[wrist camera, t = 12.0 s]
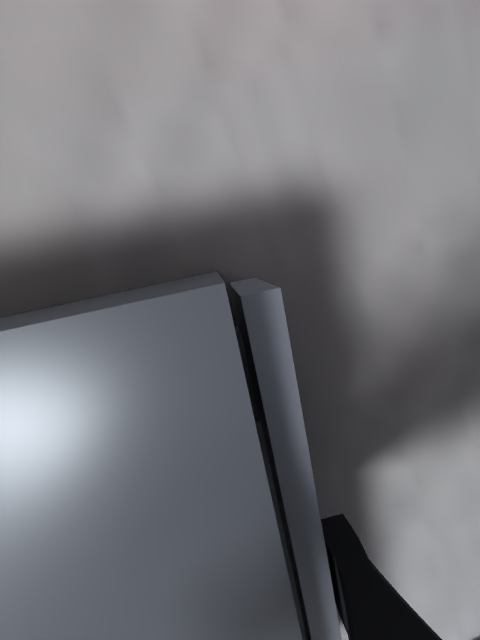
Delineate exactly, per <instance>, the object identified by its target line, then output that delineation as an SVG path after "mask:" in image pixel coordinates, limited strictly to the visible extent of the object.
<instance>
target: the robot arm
mask: <svg viewBox="0 0 480 640" xmlns="http://www.w3.org/2000/svg"><path fill="white" fill-rule="evenodd" d="M321 523H322V529H323V535H324V541H325V546H326V552H327V558H328V564H329V569H330V575H331V581H332V587H333V593H334V598H335V603H336V606H337V609H338V612H339V615H340V617H341V619H342V622H343V624H344V627H345V629H346V631H347V634H348V637H349V640H442V639H441V638H440V637H439V636H438V635H437V634H436V633H435V632H434V631H433V630H432V629H431V628H430V627H429V626H428V625H427V624H426V623H425V621H424V620H423V619H422V618H421V617H420V616H419V615H418V614H417V613H416V612H415V611H414V610H413V609H412V608H411V607H410V605H409V604H408V603H407V602H406V601H405V600H404V599H403V598H402V597H401V596H400V595H399V593H398V592H397V591H396V590H395V589H394V588H393V587H392V585H391V584H390V583H389V582H388V581H387V580H386V579H385V577H384V576H383V575H382V574H381V573H380V572H379V571H378V569H377V568H376V567H375V566H374V565H373V563H372V562H371V561H370V560H369V559H368V557H367V555H366V553H365V551H364V548H363V546H362V544H361V542H360V540H359V538H358V537H357V535H356V533H355V532H354V530H353V528H352V527H351V525H350V524H349V522H348V521H347V519H346V518H345V516H344V515H343V514H340V515H336V516H332V517H329V518H325V519H321Z"/></svg>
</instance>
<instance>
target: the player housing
mask: <svg viewBox="0 0 480 640" xmlns="http://www.w3.org/2000/svg"><path fill="white" fill-rule="evenodd" d="M0 640H302V635H301V631H300V626H299V621H298V617H297V612H296V608H295V603H294V598H293V594H292V589H291V585H290V580H289V576H288V571H287V566H286V562H285V557H284V553H283V548H282V543H281V539H280V534H279V530H278V525H277V520H276V516H275V511H274V507H273V502H272V497H271V493H270V488H269V484H268V479H267V474H266V470H265V465H264V461H263V456H262V451H261V447H260V442H259V438H258V433H257V428H256V424H255V419H254V415H253V410H252V406H251V401H250V396H249V392H248V387H247V383H246V378H245V373H244V369H243V364H242V360H241V355H240V350H239V346H238V341H237V337H236V332H235V327H234V323H233V318H232V314H231V309H230V304H229V300H228V295H227V291H226V286H225V282H224V281H223V279H222V278H221V277H220V275H219V274H218V272H217V271H216V272H212V273H207V274H202V275H198V276H193V277H188V278H184V279H179V280H174V281H170V282H165V283H160V284H156V285H151V286H146V287H142V288H137V289H132V290H128V291H123V292H118V293H114V294H109V295H104V296H100V297H95V298H90V299H86V300H81V301H76V302H72V303H67V304H62V305H58V306H53V307H48V308H44V309H39V310H34V311H30V312H25V313H20V314H16V315H11V316H6V317H2V318H0Z"/></svg>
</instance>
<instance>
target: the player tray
mask: <svg viewBox="0 0 480 640" xmlns="http://www.w3.org/2000/svg"><path fill="white" fill-rule="evenodd" d="M229 286H230V290H231V295H232V300H233V304H234V309H235V314H236V318H237V323H238V326H235V332H236V337H237V341H238V346H239V350H240V355H241V360H242V364H243V369H244V373H245V378H246V383H247V387H248V392H249V396H250V401H251V406H252V410H253V415H254V419H255V424H256V428H257V433H258V438H259V442H260V447H261V451H262V456H263V461H264V465H265V470H266V474H267V479H268V484H269V488H270V493H271V497H272V502H273V507H274V511H275V516H276V520H277V525H278V530H279V534H280V539H281V543H282V548H283V553H284V557H285V562H286V566H287V571H288V576H289V580H290V585H291V589H292V594H293V598H294V603H295V608H296V612H297V617H298V621H299V626H300V631H301V635H302V640H342V639H341V633H340V627H339V621H338V616H337V610H336V604H335V598H334V593H333V587H332V581H331V575H330V569H329V564H328V558H327V552H326V546H325V541H324V535H323V529H322V523H321V518H320V512H319V506H318V500H317V494H316V489H315V483H314V477H313V471H312V466H311V460H310V454H309V448H308V442H307V437H306V431H305V425H304V419H303V414H302V408H301V402H300V396H299V390H298V385H297V379H296V373H295V367H294V362H293V356H292V350H291V344H290V339H289V333H288V327H287V321H286V315H285V310H284V304H283V298H282V292H281V287H278V286H275V285H273V284H270V283H267V282H265V281H262V280H259V279H257V278H250V279H245V280H240V281H236V282H231V283H229Z"/></svg>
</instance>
